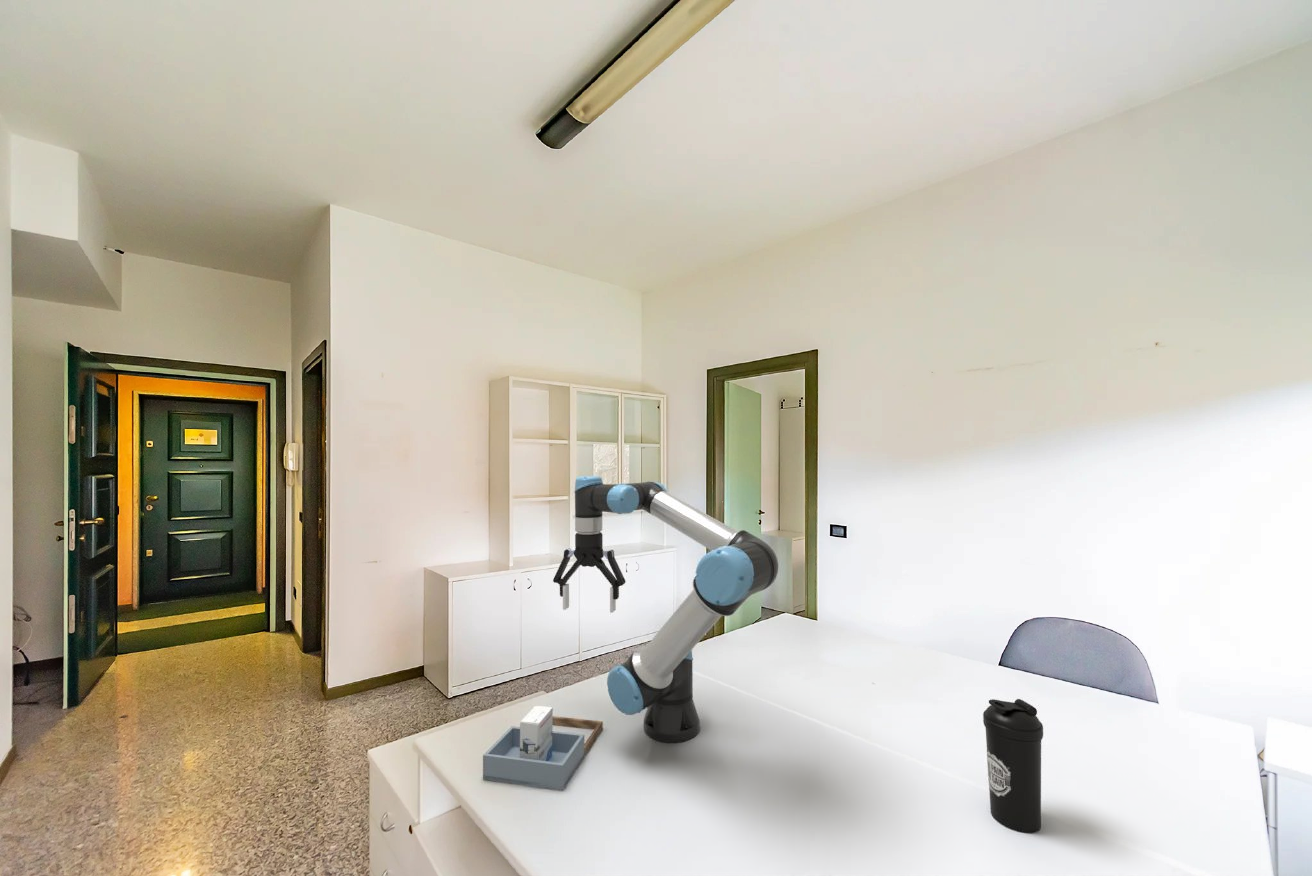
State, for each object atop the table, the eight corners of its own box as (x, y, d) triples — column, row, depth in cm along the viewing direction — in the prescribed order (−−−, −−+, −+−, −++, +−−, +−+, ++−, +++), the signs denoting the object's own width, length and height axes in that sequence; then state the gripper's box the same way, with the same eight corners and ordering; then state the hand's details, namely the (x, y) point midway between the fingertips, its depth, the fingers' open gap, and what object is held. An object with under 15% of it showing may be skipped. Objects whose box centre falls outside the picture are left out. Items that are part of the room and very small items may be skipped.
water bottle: (974, 804, 113) (971, 693, 114) (1020, 801, 114) (1016, 691, 115) (1010, 838, 103) (1006, 716, 104) (1059, 834, 104) (1055, 713, 105)
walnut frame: (602, 728, 146) (602, 721, 146) (585, 756, 133) (585, 748, 133) (535, 721, 150) (535, 714, 150) (512, 747, 137) (512, 739, 137)
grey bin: (584, 757, 132) (584, 734, 133) (562, 790, 119) (562, 765, 119) (511, 748, 137) (511, 726, 137) (482, 779, 123) (482, 755, 124)
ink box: (534, 752, 133) (534, 704, 133) (553, 755, 132) (553, 706, 132) (518, 773, 124) (518, 721, 125) (538, 775, 123) (538, 723, 124)
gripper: (636, 531, 150) (636, 608, 149) (552, 529, 155) (552, 603, 155) (628, 535, 142) (629, 616, 142) (541, 533, 148) (541, 611, 147)
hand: (589, 609), depth 148 cm, fingers open, 13 cm apart
